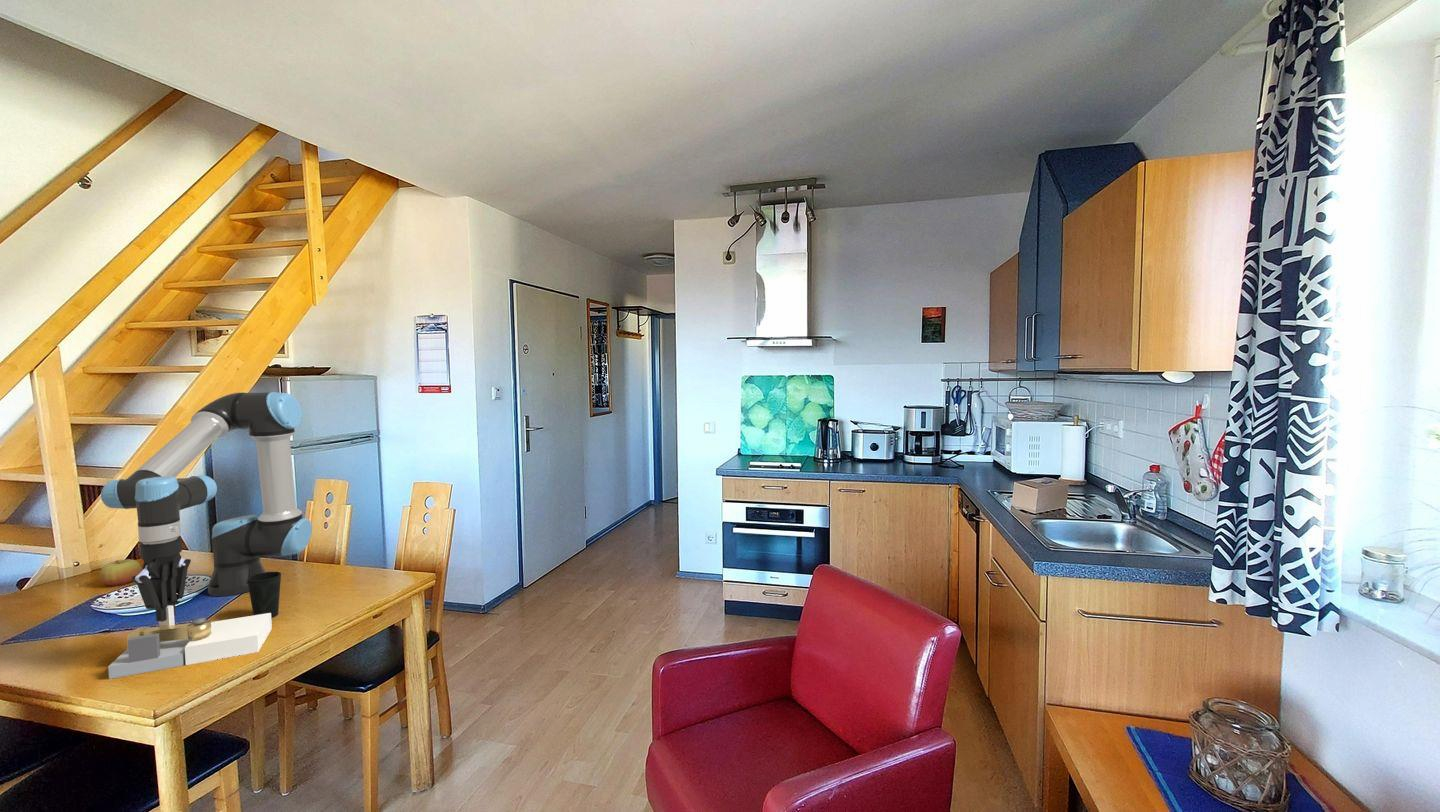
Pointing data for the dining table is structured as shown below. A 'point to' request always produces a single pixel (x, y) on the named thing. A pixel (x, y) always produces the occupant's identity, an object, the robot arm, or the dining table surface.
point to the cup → (265, 593)
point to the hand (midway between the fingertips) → (167, 631)
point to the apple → (119, 572)
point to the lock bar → (175, 631)
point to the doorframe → (193, 646)
